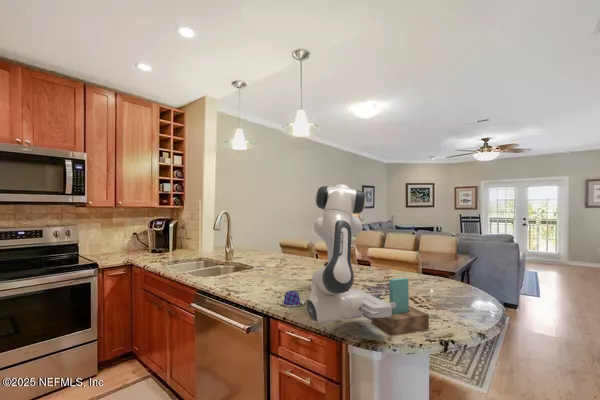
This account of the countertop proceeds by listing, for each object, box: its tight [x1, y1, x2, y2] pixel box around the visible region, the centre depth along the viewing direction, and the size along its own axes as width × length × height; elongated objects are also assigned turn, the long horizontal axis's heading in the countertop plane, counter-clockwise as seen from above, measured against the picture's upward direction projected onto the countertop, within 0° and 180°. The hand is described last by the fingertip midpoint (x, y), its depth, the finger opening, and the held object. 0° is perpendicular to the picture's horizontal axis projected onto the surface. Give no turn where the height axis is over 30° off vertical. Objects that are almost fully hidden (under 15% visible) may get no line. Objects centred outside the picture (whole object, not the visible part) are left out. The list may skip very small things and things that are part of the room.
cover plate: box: [388, 277, 410, 314], centre depth 107 cm, size 7×2×17 cm, turn 110°
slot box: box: [371, 305, 430, 336], centre depth 107 cm, size 16×12×5 cm
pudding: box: [278, 290, 306, 308], centre depth 133 cm, size 12×12×5 cm
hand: (386, 300), depth 106 cm, fingers open, 8 cm apart
